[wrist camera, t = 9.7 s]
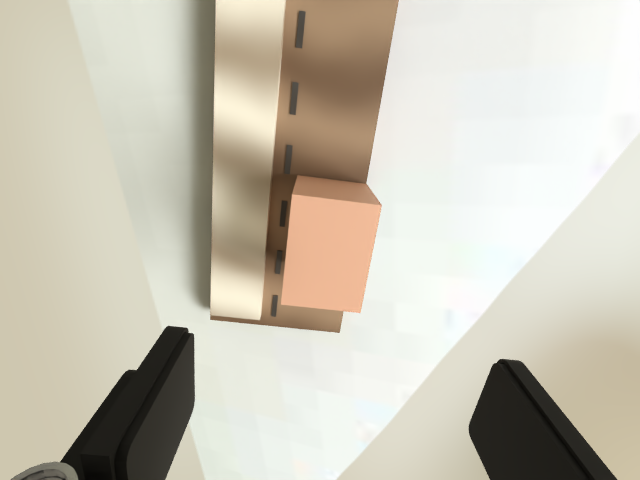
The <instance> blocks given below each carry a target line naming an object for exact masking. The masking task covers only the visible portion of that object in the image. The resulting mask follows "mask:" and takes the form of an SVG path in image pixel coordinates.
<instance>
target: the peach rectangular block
mask: <svg viewBox="0 0 640 480" xmlns="http://www.w3.org/2000/svg"><path fill="white" fill-rule="evenodd" d="M381 206H382V205H381V204H380V202H379V201H378V199H377V198H376V197H375V195H374V194H373V192H372V191H371V189H370V188H369V187H368V185H367V184H364V183H356V182H348V181H340V180H332V179H324V178H316V177H308V176H301V175H297V179H296V182H295V186H294V189H293V193H292V199H291V209H290V219H289V229H288V239H287V249H286V258H285V268H284V278H283V288H282V298H281V305H289V306H299V307H309V308H318V309H328V310H337V311H347V312H356V313H360V312H361V307H362V302H363V297H364V292H365V287H366V282H367V277H368V272H369V267H370V262H371V257H372V252H373V247H374V242H375V237H376V232H377V227H378V222H379V217H380V212H381Z"/></svg>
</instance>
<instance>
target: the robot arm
mask: <svg viewBox="0 0 640 480" xmlns="http://www.w3.org/2000/svg"><path fill="white" fill-rule="evenodd" d="M194 401H195V385H194V334H193V333H188V328H183V327H173V326H167V327H166V328H165V329H164V331H163V332H162V334H161V335H160V337H159V338H158V340H157V341H156V343H155V344H154V346H153V347H152V349H151V350H150V352H149V353H148V355H147V356H146V357H145V359H144V360H143V362H142V363H141V365H140V367H139V368H138V369H137V370H128V371H126V372H125V373H124V374H123V375H122V377H121V378H120V379H119V381H118V382H117V384H116V385H115V386H114V388H113V389H112V390H111V392H110V393H109V395H108V396H107V397H106V399H105V400H104V402H103V403H102V404H101V406H100V407H99V408H98V410H97V411H96V413H95V414H94V415H93V417H92V418H91V420H90V421H89V422H88V424H87V425H86V427H85V428H84V429H83V431H82V432H81V434H80V435H79V436H78V438H77V439H76V440H75V442H74V443H73V445H72V446H71V447H70V449H69V450H68V452H67V453H66V454H65V456H64V457H63V459H62V460H61V461H60V462H51V463H43V464H40V465H37V466H34V467H31V468H29V469H27V470H25V471H24V472H22V473H20V474H18V475H16V476H15V477H14V478H12V479H11V480H165V479H166V476H167V473H168V471H169V469H170V466H171V464H172V461H173V459H174V456H175V454H176V451H177V449H178V446H179V444H180V441H181V439H182V436H183V434H184V431H185V429H186V427H187V424H188V422H189V419H190V417H191V414H192V411H193V408H194ZM469 434H470V437H471V440H472V442H473V444H474V446H475V448H476V450H477V452H478V455H479V456H480V459H481V461H482V463H483V465H484V467H485V469H486V472H487V474H488V476H489V478H490V480H617V479H616V477H615V476H614V475H613V474H612V473H611V471H610V470H609V469H608V468H607V466H606V465H605V464H604V463H603V461H602V460H601V459H600V458H599V456H598V455H597V454H596V453H595V451H594V450H593V449H592V448H591V447H590V445H589V444H588V443H587V442H586V440H585V439H584V438H583V437H582V435H581V434H580V433H579V432H578V431H577V429H576V428H575V427H574V426H573V424H572V423H571V422H570V421H569V419H568V418H567V417H566V416H565V414H564V413H563V412H562V411H561V409H560V408H559V407H558V406H557V404H556V403H555V402H554V401H553V399H552V398H551V397H550V396H549V395H548V393H547V392H546V391H545V390H544V388H543V387H542V386H541V385H540V383H539V382H538V381H537V380H536V378H535V377H534V376H533V375H532V373H531V372H530V371H529V370H528V368H527V367H526V366H525V365H524V364H523V363H522V362H521V361H517V360H507V359H500V360H499V361H498V362H497V363H495V364H493V366H492V368H491V370H490V373H489V375H488V378H487V380H486V383H485V385H484V388H483V390H482V393H481V395H480V398H479V400H478V403H477V406H476V408H475V411H474V413H473V416H472V418H471V421H470V424H469Z"/></svg>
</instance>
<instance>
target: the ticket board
mask: <svg viewBox="0 0 640 480" xmlns="http://www.w3.org/2000/svg"><path fill="white" fill-rule="evenodd" d="M398 1H399V0H216V16H215V73H214V130H213V187H212V244H211V301H210V315H211V316H210V320H218V321H228V322H238V323H248V324H258V325H268V326H278V327H288V328H298V329H307V330H317V331H327V332H337V333H340V328H341V322H342V316H343V311H337V310H328V309H318V308H309V307H299V306H289V305H281V298H282V288H283V278H284V268H285V258H286V249H287V239H288V229H289V219H290V209H291V199H292V193H293V189H294V186H295V182H296V179H297V175H301V176H308V177H316V178H324V179H332V180H340V181H348V182H356V183H364V184H366V181H367V176H368V170H369V165H370V159H371V153H372V148H373V142H374V136H375V131H376V125H377V119H378V114H379V108H380V103H381V97H382V91H383V86H384V80H385V74H386V69H387V63H388V58H389V52H390V46H391V41H392V35H393V29H394V24H395V18H396V13H397V7H398Z"/></svg>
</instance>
